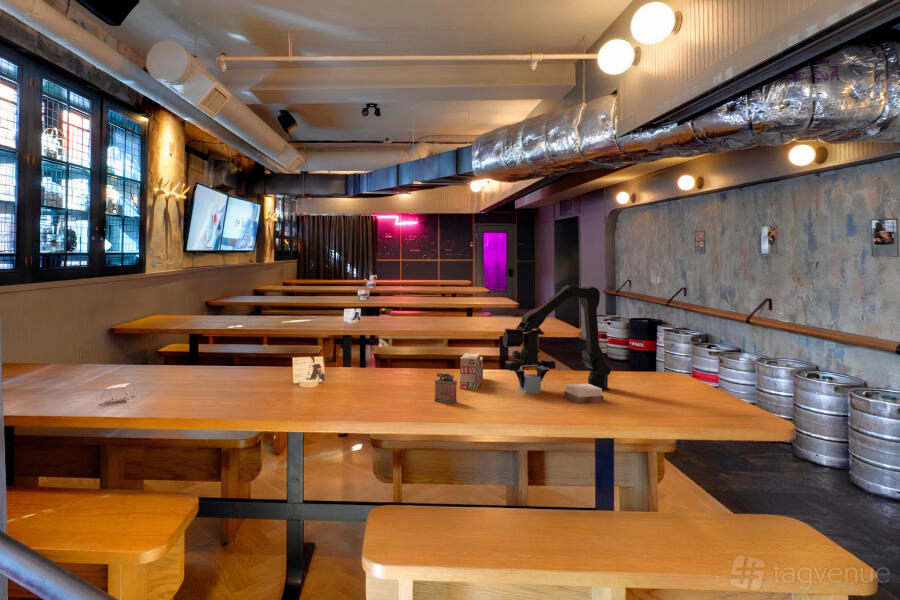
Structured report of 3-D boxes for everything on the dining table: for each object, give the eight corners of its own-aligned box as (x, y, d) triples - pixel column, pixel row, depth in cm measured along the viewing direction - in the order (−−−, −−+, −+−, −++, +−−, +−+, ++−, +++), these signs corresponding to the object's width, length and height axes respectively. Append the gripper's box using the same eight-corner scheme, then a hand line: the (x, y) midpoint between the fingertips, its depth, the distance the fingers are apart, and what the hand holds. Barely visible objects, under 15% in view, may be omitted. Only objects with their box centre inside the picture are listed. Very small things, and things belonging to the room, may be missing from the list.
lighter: (458, 401, 186) (458, 373, 186) (454, 403, 183) (455, 374, 182) (436, 399, 189) (436, 371, 188) (432, 401, 186) (433, 373, 185)
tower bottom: (588, 396, 198) (588, 389, 198) (603, 403, 188) (603, 396, 188) (563, 398, 195) (564, 391, 195) (577, 404, 186) (578, 397, 186)
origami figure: (122, 404, 179) (122, 389, 178) (98, 403, 179) (98, 388, 179) (145, 395, 191) (144, 381, 190) (122, 394, 191) (122, 381, 191)
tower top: (588, 390, 197) (588, 383, 197) (601, 395, 189) (602, 388, 188) (566, 391, 195) (566, 384, 194) (579, 397, 186) (579, 390, 186)
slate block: (533, 389, 206) (534, 373, 206) (540, 392, 200) (540, 377, 200) (519, 390, 204) (519, 374, 204) (525, 393, 199) (526, 377, 198)
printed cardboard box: (468, 378, 226) (468, 349, 226) (483, 378, 225) (483, 349, 224) (459, 389, 205) (460, 357, 205) (476, 390, 204) (476, 358, 203)
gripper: (543, 342, 212) (543, 381, 213) (499, 344, 206) (498, 384, 207) (557, 346, 201) (556, 387, 202) (510, 348, 196) (510, 390, 197)
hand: (529, 387), depth 202 cm, fingers closed on slate block, 6 cm apart
